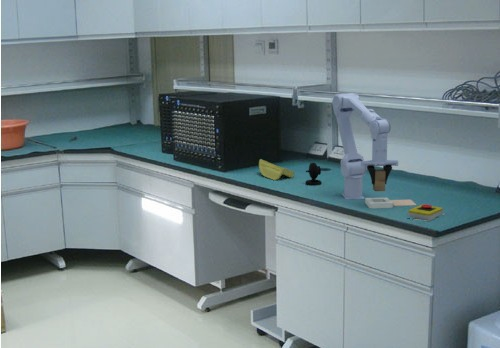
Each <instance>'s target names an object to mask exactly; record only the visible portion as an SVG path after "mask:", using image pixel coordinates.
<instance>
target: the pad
mask: <svg viewBox="0 0 500 348" xmlns="http://www.w3.org/2000/svg"><path fill="white" fill-rule="evenodd" d="M389 200H390V201H391V202H392V203H393V207H402V206H404V207H405V206H406V207H408V206H417V204H416V202H414V200H412V199H389Z"/></svg>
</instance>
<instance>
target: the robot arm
mask: <svg viewBox="0 0 500 348" xmlns="http://www.w3.org/2000/svg"><path fill="white" fill-rule="evenodd" d="M331 101H332V102H331V103H332V104H331V105H332V108H333V109H332V110H333V113H334V115H335V118H336V123H337V128H338V130H339V131H338V132H339V135H340V140H341V144H342V150H343V154H344V156H343V157H342V159H341V160H340V172H341V174H342V176H343V178H344V185H343V186H344V187H343V188H344V189H343V191H344V193H341V195H342V196H343V197H344V199H346V200H360V199H365V198H366V197H365V196H364V195H363V178H364V177H365V175H366V174H367V171H368V173H369V176H370V180H371V184H372V186H373V185H375V169H376V167H383V168H382V169H383V170H385V171H386V173H385V185H387V182H388V179H389V176H390V173H391V171H392V170H393V167H394V166H395V167H398V166H399V161H398V160H396V159H394V160H393V159H388V134H390V132H391V128H392V126H391V124H392V123H391V122H390V121H389V119H388V118H383V117H381V116H380V115H378V114H377V112H375V110H374V109H372V108H367V107H366V106H365V104H364V103H362V101H361V98H360V95H358V94H357V93H356V92H352V93H350V92H349V93H339V94H338V93H336V94H334V96H333V98H332V100H331ZM354 112H356V113H358V115H359V116H361V121H362V122H363V123H364V124H366V126H367V127H368V128H369V132H370V137H371V139H372V140H371V141H372V143H371V144H372V147H371V149H372V150H371V152H372V153H371V160H365V159H364V156H363V155H361V154H360V153H359V152H358V150H357V147H356V146H357V145H356V141H355V137H354V134H353V133H354V132H353V128H352V124H351V119H350V116H351V115H352V114H354ZM392 166H393V167H392Z"/></svg>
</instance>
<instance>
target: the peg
mask: <svg viewBox="0 0 500 348" xmlns="http://www.w3.org/2000/svg"><path fill="white" fill-rule="evenodd" d="M385 173H386V171H385V170H383V168H380V169H376V168H375V185H373V184H372V190H373V191H374V192H386V184H385Z"/></svg>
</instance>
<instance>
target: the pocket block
mask: <svg viewBox="0 0 500 348" xmlns="http://www.w3.org/2000/svg"><path fill="white" fill-rule="evenodd" d="M364 198H365V200H364V203H365V205H366V206H367V207H368V208H369V209H393V207H394V205H393V203H392V202H391V201H390V200H391V199H389V198H388V197H364Z"/></svg>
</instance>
